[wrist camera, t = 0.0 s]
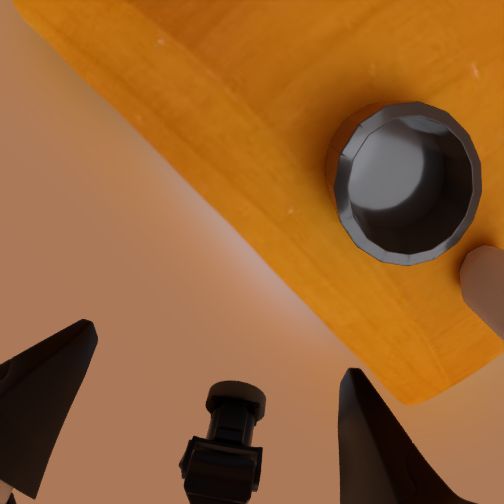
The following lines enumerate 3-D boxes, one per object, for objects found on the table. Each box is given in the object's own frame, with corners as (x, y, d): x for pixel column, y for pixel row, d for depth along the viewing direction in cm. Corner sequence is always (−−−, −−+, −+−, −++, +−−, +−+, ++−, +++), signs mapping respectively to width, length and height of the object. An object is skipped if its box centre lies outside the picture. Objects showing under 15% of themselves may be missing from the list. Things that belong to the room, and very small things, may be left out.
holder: (429, 243, 20) (453, 273, 16) (314, 223, 20) (319, 253, 17) (459, 124, 15) (495, 133, 11) (336, 87, 16) (350, 81, 12)
